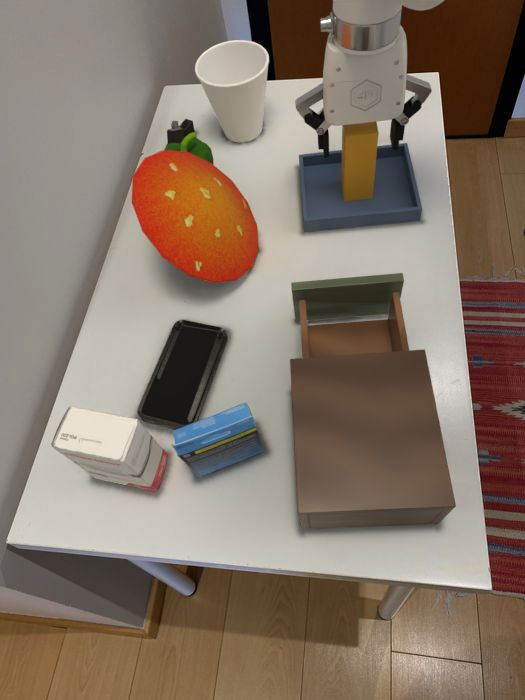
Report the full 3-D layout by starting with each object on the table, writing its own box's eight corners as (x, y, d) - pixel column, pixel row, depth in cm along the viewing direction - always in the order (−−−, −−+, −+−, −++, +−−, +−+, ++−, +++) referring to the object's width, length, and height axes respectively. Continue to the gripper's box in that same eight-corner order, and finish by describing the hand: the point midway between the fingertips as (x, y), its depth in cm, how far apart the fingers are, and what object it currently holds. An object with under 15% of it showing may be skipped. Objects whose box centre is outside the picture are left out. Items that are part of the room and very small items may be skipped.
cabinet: (295, 392, 65) (289, 358, 57) (413, 384, 64) (425, 349, 56) (302, 529, 57) (297, 513, 49) (438, 524, 56) (456, 506, 48)
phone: (228, 328, 69) (190, 430, 63) (229, 333, 70) (192, 433, 64) (175, 318, 71) (133, 415, 65) (177, 322, 72) (136, 418, 66)
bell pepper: (178, 216, 82) (159, 167, 74) (166, 183, 86) (147, 133, 78) (227, 199, 83) (214, 149, 74) (213, 167, 87) (200, 116, 78)
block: (369, 178, 81) (374, 111, 70) (372, 198, 79) (378, 132, 68) (341, 181, 81) (342, 115, 71) (343, 201, 79) (345, 136, 69)
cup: (226, 103, 95) (212, 36, 84) (286, 112, 91) (279, 43, 81) (200, 146, 90) (182, 80, 79) (262, 157, 87) (252, 90, 76)
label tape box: (256, 424, 64) (240, 383, 53) (267, 454, 62) (253, 417, 51) (189, 450, 63) (160, 414, 52) (199, 481, 61) (170, 450, 50)
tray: (405, 155, 83) (407, 142, 81) (419, 221, 76) (422, 209, 74) (299, 166, 84) (298, 154, 82) (304, 232, 78) (303, 220, 75)
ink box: (171, 452, 63) (139, 418, 53) (158, 492, 61) (122, 465, 51) (108, 440, 65) (65, 404, 55) (93, 478, 63) (46, 449, 52)
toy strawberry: (152, 306, 74) (113, 237, 61) (176, 201, 84) (147, 122, 71) (252, 307, 72) (234, 236, 59) (265, 199, 82) (252, 117, 69)
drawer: (294, 307, 70) (290, 274, 64) (394, 298, 69) (401, 264, 62) (301, 422, 62) (297, 398, 56) (415, 415, 61) (425, 389, 54)
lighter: (184, 148, 94) (184, 117, 91) (195, 149, 93) (195, 118, 91) (163, 154, 87) (162, 121, 84) (174, 155, 86) (174, 122, 84)
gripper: (291, 53, 57) (300, 172, 72) (451, 32, 55) (425, 159, 70) (288, 15, 60) (297, 137, 75) (438, -5, 59) (416, 123, 74)
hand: (359, 147), depth 73 cm, fingers open, 9 cm apart
